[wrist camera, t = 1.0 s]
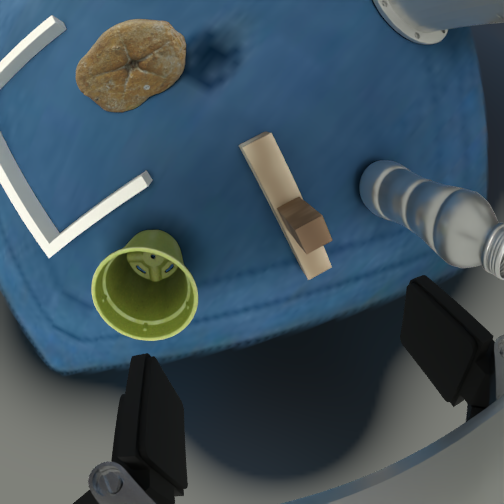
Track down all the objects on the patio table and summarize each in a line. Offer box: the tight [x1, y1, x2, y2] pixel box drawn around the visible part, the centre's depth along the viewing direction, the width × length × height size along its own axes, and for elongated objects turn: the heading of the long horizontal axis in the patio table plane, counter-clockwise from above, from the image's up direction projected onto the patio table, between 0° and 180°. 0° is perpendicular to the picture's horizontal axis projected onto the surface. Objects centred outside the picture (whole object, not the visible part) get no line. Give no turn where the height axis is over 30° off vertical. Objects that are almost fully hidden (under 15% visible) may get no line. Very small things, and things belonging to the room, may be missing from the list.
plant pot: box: [91, 230, 198, 341], centre depth 28 cm, size 9×9×9 cm
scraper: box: [238, 132, 332, 280], centre depth 28 cm, size 3×16×9 cm, turn 27°
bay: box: [0, 16, 153, 258], centre depth 23 cm, size 14×21×3 cm, turn 27°
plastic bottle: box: [359, 160, 504, 280], centre depth 24 cm, size 6×7×20 cm
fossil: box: [76, 19, 186, 112], centre depth 21 cm, size 9×4×10 cm
